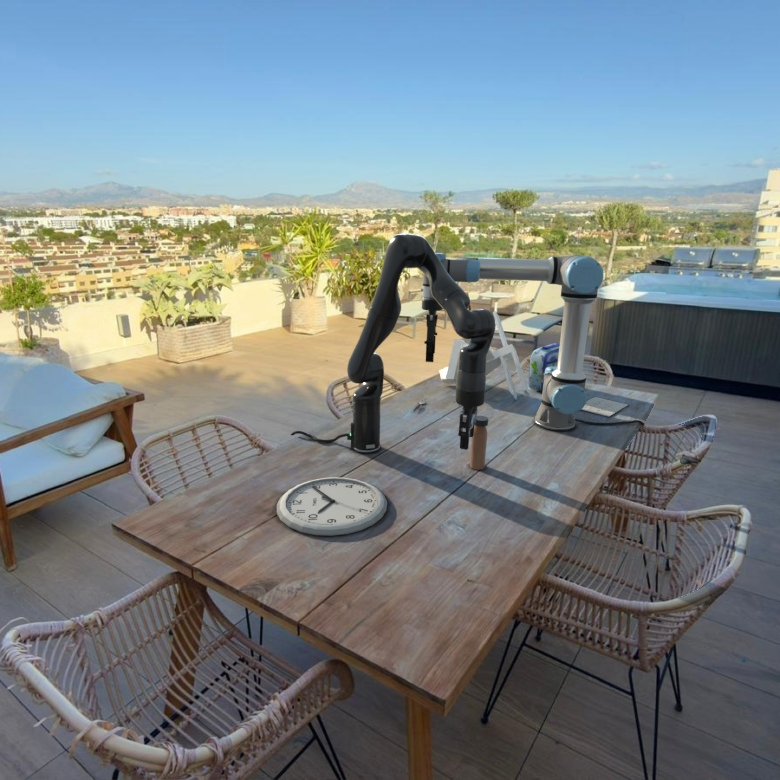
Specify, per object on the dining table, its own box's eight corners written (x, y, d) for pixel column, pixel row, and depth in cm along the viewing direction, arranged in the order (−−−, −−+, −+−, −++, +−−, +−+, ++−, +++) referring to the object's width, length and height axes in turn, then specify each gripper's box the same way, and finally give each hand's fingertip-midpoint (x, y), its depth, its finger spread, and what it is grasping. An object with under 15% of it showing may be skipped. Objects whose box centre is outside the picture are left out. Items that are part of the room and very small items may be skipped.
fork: (410, 411, 216) (410, 407, 215) (421, 400, 230) (421, 396, 229) (416, 412, 215) (416, 408, 214) (427, 401, 229) (427, 396, 228)
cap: (487, 421, 165) (487, 416, 165) (488, 427, 161) (488, 421, 160) (472, 420, 166) (472, 415, 165) (473, 426, 161) (473, 420, 161)
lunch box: (544, 395, 239) (549, 351, 233) (524, 390, 247) (528, 347, 240) (571, 384, 257) (577, 343, 251) (552, 380, 264) (556, 339, 258)
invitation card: (608, 416, 214) (573, 407, 224) (608, 416, 214) (573, 408, 224) (628, 404, 229) (594, 396, 238) (628, 405, 229) (594, 397, 238)
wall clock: (392, 527, 129) (268, 531, 127) (391, 533, 130) (269, 537, 127) (383, 473, 158) (282, 475, 155) (383, 478, 158) (282, 480, 156)
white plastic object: (461, 429, 252) (437, 405, 227) (444, 352, 274) (420, 323, 250) (535, 404, 240) (518, 377, 215) (510, 326, 262) (492, 293, 237)
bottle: (484, 463, 170) (487, 417, 165) (485, 470, 165) (488, 422, 160) (469, 462, 170) (472, 416, 165) (469, 469, 166) (473, 421, 161)
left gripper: (461, 376, 144) (458, 430, 150) (451, 392, 132) (447, 451, 137) (488, 379, 142) (484, 434, 148) (481, 395, 129) (476, 455, 135)
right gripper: (424, 293, 195) (422, 349, 202) (419, 302, 172) (417, 365, 178) (444, 294, 195) (441, 350, 201) (442, 303, 171) (439, 366, 177)
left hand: (466, 442), depth 142 cm, fingers open, 8 cm apart
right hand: (430, 357), depth 190 cm, fingers open, 13 cm apart
